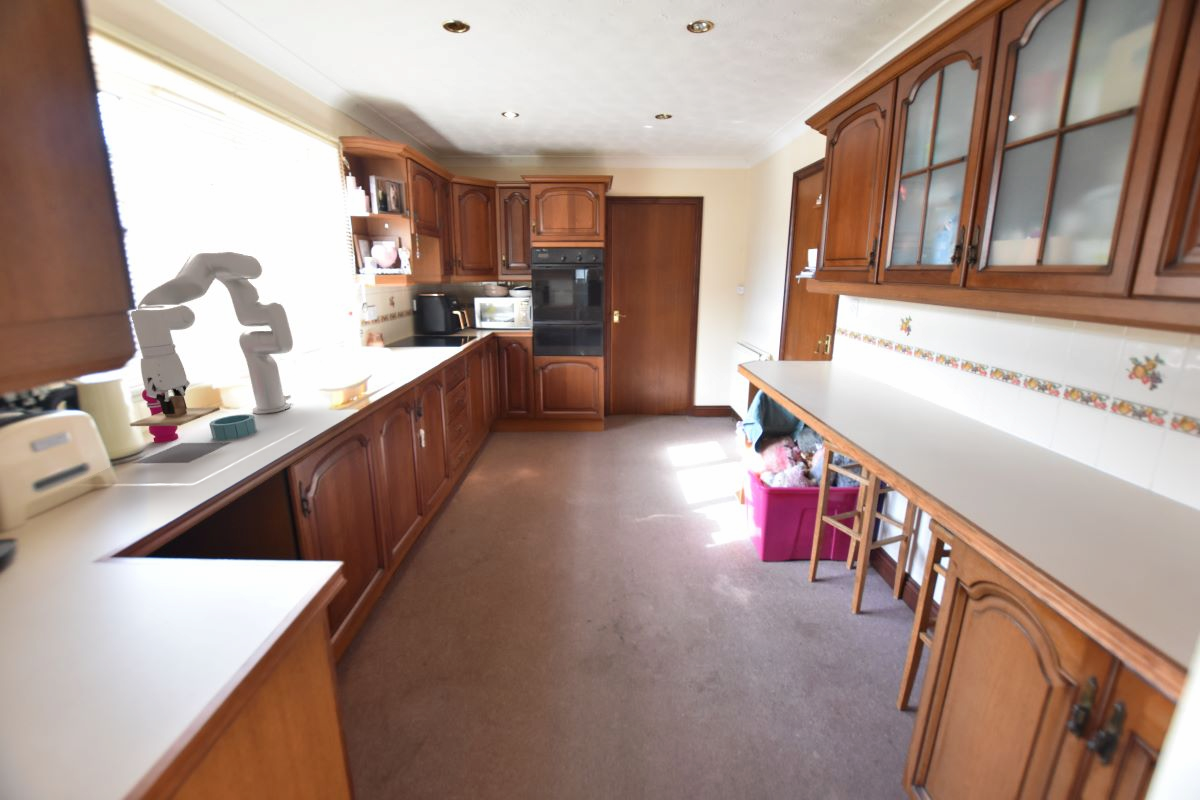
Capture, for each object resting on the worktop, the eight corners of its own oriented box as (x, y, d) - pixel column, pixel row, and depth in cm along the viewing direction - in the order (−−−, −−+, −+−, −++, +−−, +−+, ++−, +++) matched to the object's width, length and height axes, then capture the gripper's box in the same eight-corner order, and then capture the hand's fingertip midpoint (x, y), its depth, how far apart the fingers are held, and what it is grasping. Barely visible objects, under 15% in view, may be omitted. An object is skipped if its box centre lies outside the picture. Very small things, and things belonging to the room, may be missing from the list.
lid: (174, 410, 163) (169, 391, 162) (219, 409, 162) (214, 390, 161) (130, 426, 149) (124, 405, 147) (179, 425, 148) (173, 404, 146)
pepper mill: (156, 446, 166) (139, 385, 161) (149, 442, 170) (133, 383, 165) (183, 439, 171) (168, 381, 166) (176, 436, 176) (161, 378, 170)
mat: (182, 444, 167) (181, 442, 167) (232, 443, 166) (231, 442, 166) (133, 464, 150) (132, 463, 150) (188, 464, 149) (187, 462, 149)
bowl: (232, 429, 180) (228, 414, 179) (264, 429, 180) (261, 414, 178) (204, 441, 169) (200, 425, 167) (239, 441, 168) (235, 425, 167)
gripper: (170, 346, 158) (186, 403, 163) (119, 357, 142) (138, 420, 147) (194, 345, 158) (208, 403, 163) (144, 356, 142) (163, 420, 147)
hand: (175, 411), depth 155 cm, fingers closed on lid, 3 cm apart
